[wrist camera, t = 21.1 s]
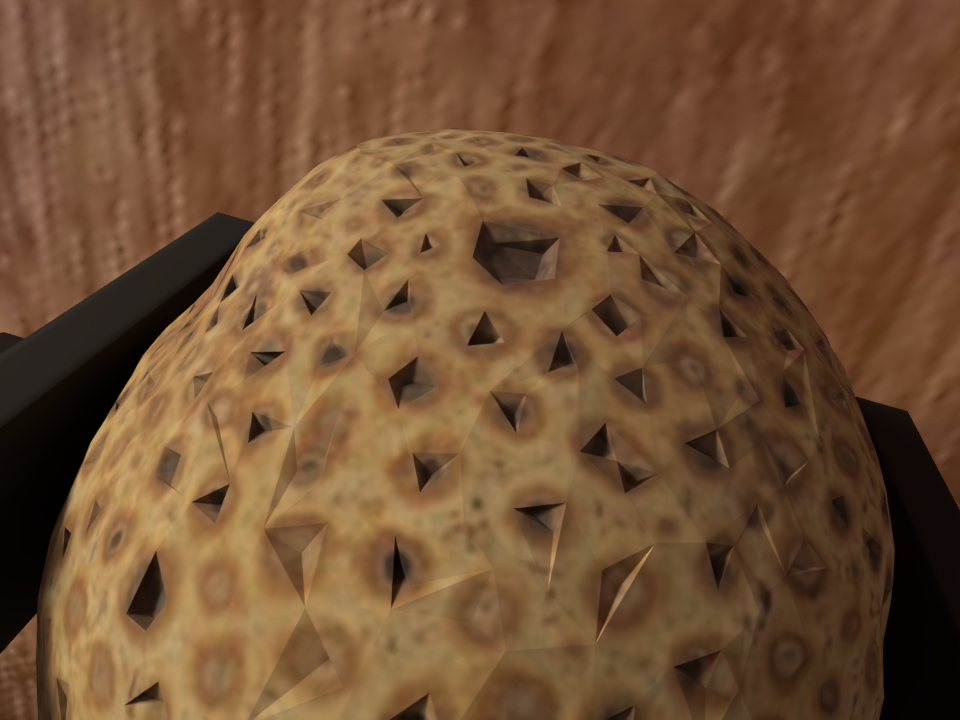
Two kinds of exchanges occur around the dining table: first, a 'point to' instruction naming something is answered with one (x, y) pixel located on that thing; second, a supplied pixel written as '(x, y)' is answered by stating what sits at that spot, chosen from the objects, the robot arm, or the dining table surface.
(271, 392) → the natural sponge
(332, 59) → the dining table surface
